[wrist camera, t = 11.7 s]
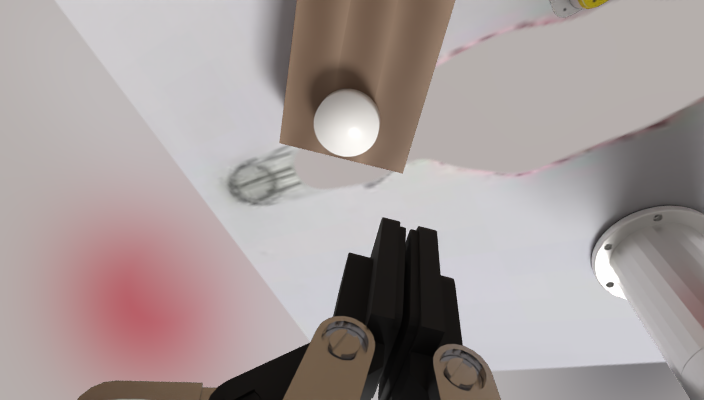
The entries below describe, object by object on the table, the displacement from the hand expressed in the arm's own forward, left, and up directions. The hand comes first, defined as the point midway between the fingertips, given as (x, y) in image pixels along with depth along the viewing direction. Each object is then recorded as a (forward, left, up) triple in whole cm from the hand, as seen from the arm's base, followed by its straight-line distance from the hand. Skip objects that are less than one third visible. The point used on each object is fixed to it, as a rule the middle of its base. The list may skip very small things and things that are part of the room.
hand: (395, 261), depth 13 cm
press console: (+4, -3, -31) cm, 31 cm away
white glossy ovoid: (+4, +5, -31) cm, 31 cm away
